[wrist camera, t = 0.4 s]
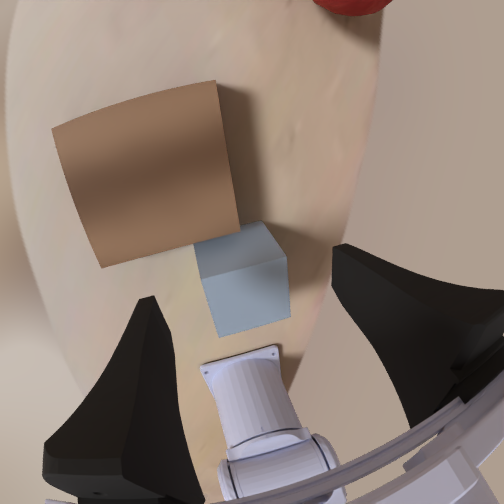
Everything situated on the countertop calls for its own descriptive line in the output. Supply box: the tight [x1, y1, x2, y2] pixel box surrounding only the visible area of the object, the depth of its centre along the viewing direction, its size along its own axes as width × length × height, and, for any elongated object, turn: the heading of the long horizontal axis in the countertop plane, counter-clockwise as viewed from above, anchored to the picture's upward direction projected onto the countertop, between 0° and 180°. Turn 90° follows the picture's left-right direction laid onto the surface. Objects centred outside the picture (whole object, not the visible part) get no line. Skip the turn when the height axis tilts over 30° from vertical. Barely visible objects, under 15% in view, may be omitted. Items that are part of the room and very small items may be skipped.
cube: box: [193, 220, 291, 338], centre depth 20 cm, size 5×5×5 cm
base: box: [52, 80, 240, 268], centre depth 16 cm, size 9×9×3 cm
